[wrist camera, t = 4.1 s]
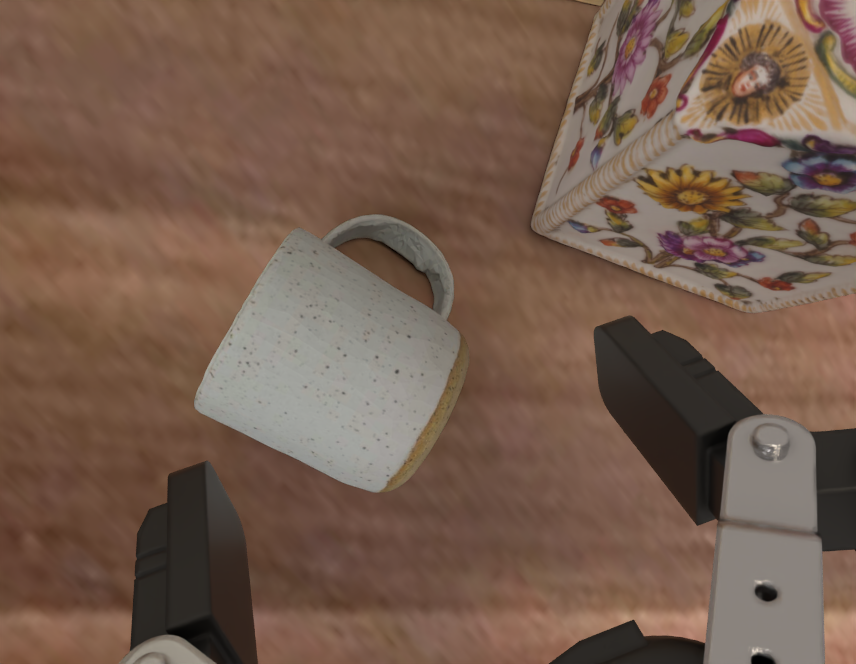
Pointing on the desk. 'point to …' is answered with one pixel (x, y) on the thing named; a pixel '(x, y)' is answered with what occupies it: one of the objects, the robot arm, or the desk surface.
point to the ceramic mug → (342, 358)
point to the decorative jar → (714, 148)
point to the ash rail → (592, 2)
